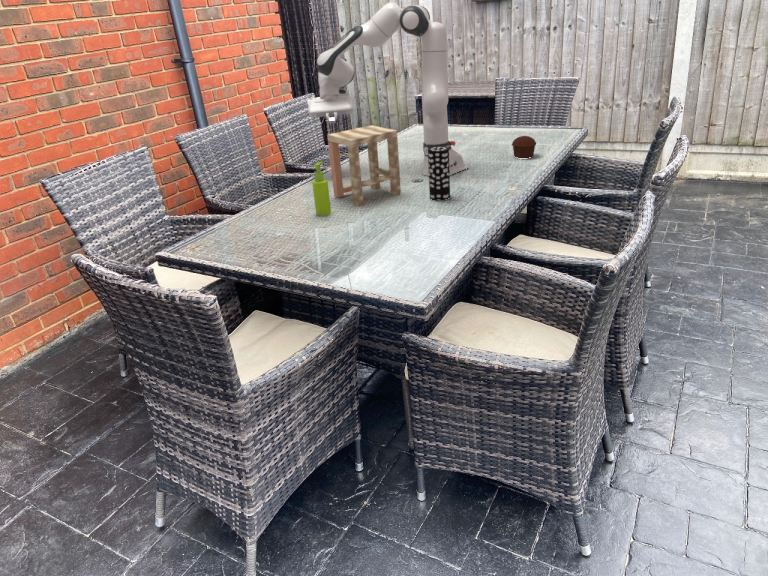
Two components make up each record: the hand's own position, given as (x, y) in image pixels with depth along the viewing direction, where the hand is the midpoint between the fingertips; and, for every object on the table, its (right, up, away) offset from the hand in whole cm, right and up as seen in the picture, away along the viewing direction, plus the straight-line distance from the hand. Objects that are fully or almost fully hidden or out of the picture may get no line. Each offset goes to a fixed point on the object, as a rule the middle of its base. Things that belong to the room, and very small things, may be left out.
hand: (332, 122), depth 260 cm
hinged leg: (+8, -33, -9) cm, 35 cm away
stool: (+16, -34, -12) cm, 40 cm away
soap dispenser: (-1, -44, -28) cm, 52 cm away
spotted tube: (+46, -37, -22) cm, 63 cm away
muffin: (+91, -10, +26) cm, 95 cm away
